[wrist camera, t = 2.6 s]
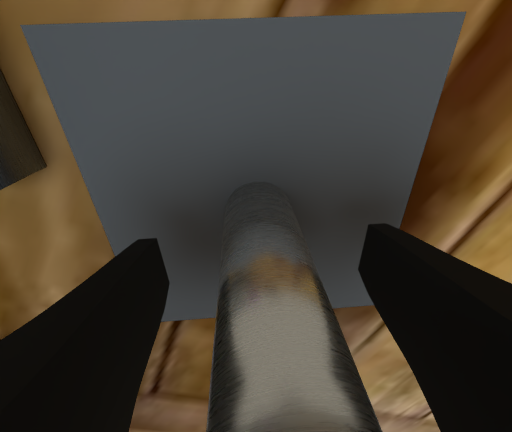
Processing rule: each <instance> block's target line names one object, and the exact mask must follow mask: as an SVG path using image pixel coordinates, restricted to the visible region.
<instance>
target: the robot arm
mask: <svg viewBox="0 0 512 432" xmlns="http://www.w3.org/2000/svg"><path fill="white" fill-rule="evenodd" d="M358 271H359V273H360V276H361V278H362V281H363V283H364V286H365V288H366V290H367V293H368V295H369V297H370V298H371V300H372V302H373V304H374V305H375V307H376V309H377V311H378V312H379V314H380V316H381V318H382V319H383V321H384V323H385V324H386V326H387V328H388V329H389V331H390V333H391V334H392V336H393V338H394V340H395V341H396V343H397V345H398V346H399V348H400V350H401V351H402V353H403V355H404V357H405V358H406V360H407V362H408V364H409V366H410V368H411V369H412V371H413V373H414V375H415V377H416V379H417V381H418V383H419V386H420V388H421V390H422V392H423V394H424V396H425V398H426V400H427V402H428V405H429V407H430V409H431V411H432V413H433V415H434V418H435V420H436V422H437V424H438V427H439V429H440V431H441V432H512V284H511V283H509V282H506V281H504V280H502V279H500V278H498V277H495V276H493V275H491V274H489V273H487V272H485V271H482V270H480V269H478V268H476V267H474V266H472V265H470V264H468V263H466V262H464V261H461V260H459V259H457V258H455V257H453V256H451V255H449V254H447V253H445V252H443V251H441V250H440V249H438V248H436V247H434V246H432V245H430V244H428V243H426V242H424V241H422V240H420V239H418V238H416V237H414V236H412V235H410V234H408V233H406V232H404V231H402V230H400V229H398V228H396V227H394V226H391V225H389V224H386V223H381V224H368V228H367V232H366V236H365V241H364V245H363V249H362V254H361V258H360V262H359V267H358ZM169 284H170V282H169V279H168V275H167V272H166V268H165V265H164V261H163V258H162V254H161V251H160V247H159V244H158V240H157V238H149V239H138V240H136V241H135V242H134V243H132V244H131V245H130V246H128V247H127V248H126V249H124V250H123V251H122V252H121V253H119V254H118V255H117V256H116V257H114V258H113V259H112V260H111V261H109V262H108V263H107V264H106V265H104V266H103V267H102V268H101V269H99V270H98V271H97V272H96V273H94V274H93V275H92V276H91V277H89V278H88V279H87V280H85V281H84V282H83V283H82V284H80V285H79V286H78V287H76V288H75V289H74V290H72V291H71V292H69V293H68V294H67V295H65V296H64V297H63V298H61V299H60V300H59V301H57V302H56V303H55V304H53V305H52V306H51V307H49V308H48V309H46V310H45V311H44V312H42V313H41V314H39V315H38V316H37V317H35V318H34V319H32V320H31V321H29V322H28V323H26V324H25V325H23V326H22V327H20V328H19V329H17V330H16V331H14V332H13V333H11V334H10V335H8V336H6V337H5V338H3V339H2V340H0V432H129V428H130V423H131V419H132V415H133V410H134V406H135V402H136V398H137V394H138V391H139V388H140V384H141V381H142V378H143V375H144V372H145V369H146V366H147V363H148V360H149V356H150V353H151V350H152V347H153V344H154V341H155V338H156V335H157V332H158V329H159V326H160V323H161V320H162V317H163V314H164V310H165V305H166V300H167V295H168V290H169Z"/></svg>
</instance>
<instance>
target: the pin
mask: <svg viewBox="0 0 512 432" xmlns="http://www.w3.org/2000/svg"><path fill="white" fill-rule="evenodd" d="M206 432H382V430H381V427H380V425H379V422H378V420H377V417H376V415H375V412H374V410H373V407H372V405H371V402H370V400H369V397H368V395H367V392H366V390H365V388H364V385H363V383H362V380H361V378H360V375H359V373H358V370H357V368H356V365H355V363H354V360H353V358H352V355H351V353H350V350H349V348H348V345H347V343H346V340H345V338H344V335H343V333H342V330H341V328H340V326H339V323H338V321H337V318H336V316H335V313H334V311H333V308H332V306H331V303H330V301H329V298H328V296H327V293H326V291H325V288H324V286H323V283H322V281H321V278H320V276H319V273H318V271H317V268H316V266H315V264H314V261H313V259H312V256H311V254H310V251H309V249H308V246H307V244H306V241H305V239H304V236H303V234H302V231H301V229H300V226H299V224H298V221H297V219H296V216H295V214H294V211H293V209H292V206H291V204H290V201H289V199H288V197H287V195H286V194H285V193H284V192H283V191H282V190H281V189H280V188H279V187H277V186H275V185H273V184H271V183H267V182H251V183H247V184H245V185H242V186H241V187H239V188H237V189H236V190H235V191H234V192H233V193H232V194H231V195H230V197H229V198H228V200H227V203H226V206H225V215H224V227H223V239H222V251H221V263H220V274H219V286H218V298H217V310H216V322H215V333H214V345H213V357H212V369H211V381H210V392H209V404H208V416H207V428H206Z"/></svg>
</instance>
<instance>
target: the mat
mask: <svg viewBox="0 0 512 432" xmlns="http://www.w3.org/2000/svg"><path fill="white" fill-rule="evenodd" d="M465 14H466V12H442V13H408V14H375V15H342V16H309V17H276V18H242V19H209V20H176V21H143V22H110V23H76V24H43V25H21V28H22V30H23V33H24V35H25V38H26V40H27V43H28V45H29V47H30V50H31V52H32V55H33V57H34V60H35V62H36V64H37V67H38V69H39V72H40V74H41V77H42V79H43V82H44V84H45V86H46V89H47V91H48V94H49V96H50V99H51V101H52V103H53V106H54V108H55V111H56V113H57V116H58V118H59V121H60V123H61V125H62V128H63V130H64V133H65V135H66V138H67V140H68V142H69V145H70V147H71V150H72V152H73V155H74V157H75V160H76V162H77V164H78V167H79V169H80V172H81V174H82V177H83V179H84V181H85V184H86V186H87V189H88V191H89V194H90V196H91V198H92V201H93V203H94V206H95V208H96V211H97V213H98V216H99V218H100V220H101V223H102V225H103V228H104V230H105V233H106V235H107V237H108V240H109V242H110V245H111V247H112V250H113V252H114V255H115V257H116V256H117V255H118V254H119V253H121V252H122V251H123V250H124V249H126V248H127V247H128V246H130V245H131V244H132V243H134V242H135V241H136V240H138V239H149V238H157V240H158V244H159V247H160V251H161V254H162V258H163V261H164V265H165V268H166V272H167V275H168V279H169V282H170V284H169V290H168V295H167V300H166V305H165V310H164V314H163V317H162V320H161V322H165V321H177V320H190V319H203V318H215V317H216V310H217V298H218V286H219V274H220V263H221V251H222V239H223V227H224V215H225V206H226V203H227V200H228V198H229V197H230V195H231V194H232V193H233V192H234V191H235V190H236V189H237V188H239V187H241V186H242V185H245V184H247V183H251V182H267V183H271V184H273V185H275V186H277V187H279V188H280V189H281V190H282V191H283V192H284V193H285V194H286V195H287V197H288V199H289V201H290V204H291V206H292V209H293V211H294V214H295V216H296V219H297V221H298V224H299V226H300V229H301V231H302V234H303V236H304V239H305V241H306V244H307V246H308V249H309V251H310V254H311V256H312V259H313V261H314V264H315V266H316V268H317V271H318V273H319V276H320V278H321V281H322V283H323V286H324V288H325V291H326V293H327V296H328V298H329V301H330V303H331V306H332V308H342V307H355V306H368V305H374V304H373V302H372V300H371V298H370V297H369V295H368V293H367V290H366V288H365V286H364V283H363V281H362V278H361V276H360V273H359V271H358V267H359V262H360V258H361V254H362V249H363V245H364V241H365V236H366V232H367V228H368V224H381V223H386V224H389V225H391V226H394V227H396V228H398V229H399V228H400V225H401V221H402V218H403V215H404V212H405V208H406V205H407V202H408V199H409V196H410V192H411V189H412V186H413V183H414V179H415V176H416V173H417V170H418V166H419V163H420V160H421V157H422V153H423V150H424V147H425V144H426V141H427V137H428V134H429V131H430V128H431V124H432V121H433V118H434V115H435V111H436V108H437V105H438V102H439V98H440V95H441V92H442V89H443V86H444V82H445V79H446V76H447V73H448V69H449V66H450V63H451V60H452V56H453V53H454V50H455V47H456V43H457V40H458V37H459V34H460V31H461V27H462V24H463V21H464V18H465Z"/></svg>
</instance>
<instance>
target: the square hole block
mask: <svg viewBox="0 0 512 432" xmlns="http://www.w3.org/2000/svg"><path fill="white" fill-rule="evenodd" d="M45 167H46V165H45V163H44V161H43V159H42V156H41V154H40V152H39V150H38V148H37V146H36V144H35V142H34V140H33V138H32V136H31V133H30V131H29V129H28V127H27V125H26V123H25V121H24V119H23V117H22V115H21V113H20V110H19V108H18V106H17V104H16V102H15V100H14V98H13V96H12V94H11V92H10V90H9V87H8V85H7V83H6V81H5V79H4V77H3V75H2V73H1V71H0V190H1V189H3V188H5V187H7V186H9V185H11V184H13V183H15V182H17V181H19V180H21V179H23V178H25V177H27V176H29V175H31V174H33V173H35V172H37V171H39V170H41V169H43V168H45Z"/></svg>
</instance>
